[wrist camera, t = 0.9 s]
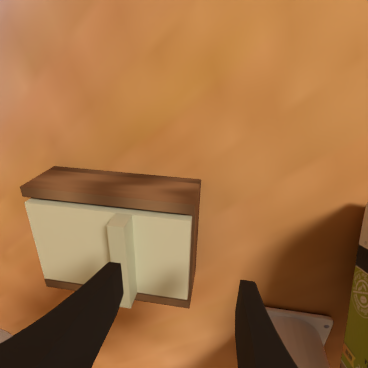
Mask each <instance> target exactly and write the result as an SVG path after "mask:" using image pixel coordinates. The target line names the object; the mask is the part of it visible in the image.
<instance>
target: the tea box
mask: <svg viewBox="0 0 368 368" xmlns="http://www.w3.org/2000/svg"><path fill="white" fill-rule="evenodd" d="M340 368H368V203H367V204H366V208H365V213H364V218H363V223H362V229H361V234H360V240H359V246H358V252H357V258H356V265H355V271H354V277H353V284H352V290H351V297H350V304H349V311H348V318H347V324H346V330H345V337H344V343H343V350H342V357H341V364H340Z"/></svg>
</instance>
